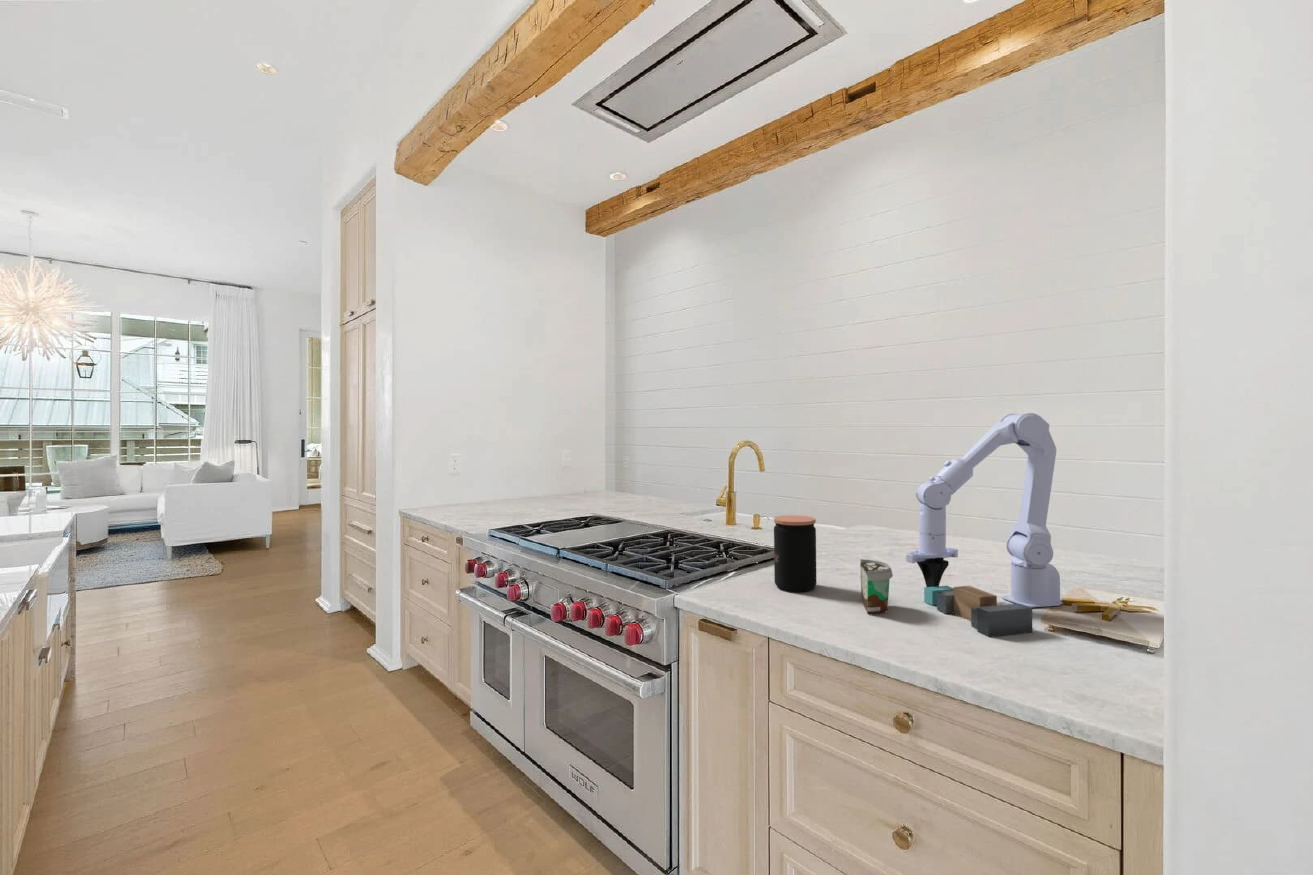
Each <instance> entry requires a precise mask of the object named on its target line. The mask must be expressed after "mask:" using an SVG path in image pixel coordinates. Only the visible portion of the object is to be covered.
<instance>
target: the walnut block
mask: <svg viewBox="0 0 1313 875" xmlns="http://www.w3.org/2000/svg"><path fill="white" fill-rule="evenodd" d="M953 588H954V613H953V614H954V615H955V614H957V615H956V616H958V615H959V616H958V617H960V618H962V619H965V620H966V619H967V621H968V620H969V622H971V607H980V606H992V605H998V601H997V600H998V599H997V598H998V597H997V596H998V595H996V594H992V593H990V592H988V591H984V590H982V589H979V588H977V587H974V586H971V585H963V586H962V585H961V586H953Z"/></svg>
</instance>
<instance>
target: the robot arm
mask: <svg viewBox="0 0 1313 875" xmlns="http://www.w3.org/2000/svg"><path fill="white" fill-rule="evenodd" d="M1010 444H1011V445H1012V444H1015V445H1018V446H1019V447H1020V449H1022V451H1023V452H1024V453H1026V454H1027V459H1026V460H1027V461H1026V468H1025V472H1024V474H1025V475H1024V481H1023V482H1024V483H1023V487H1022V495H1021V501H1020V502H1021V503H1020V510H1019V517H1018V521H1017V522H1016V523H1015V524H1014V525H1013V526H1012V530H1011V533H1010V536H1009V537H1007V539H1006V542H1005V543H1006V544H1005V546H1006V550H1007V552H1008V553H1009V555H1010V556H1011V559H1010V589H1011V590H1010V595H1003V596H1001V598H1002V599H1003V600H1006V601H1009V602H1010V603H1011V602H1012V603H1013V604H1023V605H1026V606H1028V607H1031V608H1032V609H1033V608H1042V607H1043V608H1045V607H1053V606H1054V607H1056V606H1061V605H1060V604H1062V603H1063V602H1062V601H1061V577H1060V573H1059V571H1058V569H1057V567H1055V566H1054V565H1053V564H1051V561H1052V560H1053V558H1054V550H1053V549H1054V548H1053V547H1052V542H1051V540H1052V536H1051V532H1050V531H1049V529H1048V527H1047V519H1048V513H1049V504H1050V499H1051V491H1052V484H1053V477H1054V470H1055V462H1056V458H1057V457H1056V456H1057V446H1056V444H1055V440H1054V439H1053V437H1052V435H1051V433H1050V423H1048V422H1047V421H1046V420H1045V419H1044V418H1043V417H1042V416H1040V415H1039V414H1037V413H1033V412H1027V413H1008V414H1006V415H1004V416H1002V418H1001V419H1000V421H997V422H996V423H994V424H993V425H992V426H991V427H990V428H989V430H988V431H987V432H986V433H985V434H984V435H983V436H982V437H981V438H980V439H979V440H978V441H977V442H976V443H975V444H974V445H973V446H972V447H971V448H970V449H969V450H968V452H966V453H965V454H964V455H963V456H962V457H961V458H952V459H951V460H950V461H949V460H947V461H945V462H944V463H943V467H942V468H941V469H940V470H939V471H938V472H937V473H936V474H935V475H934V476H933V475H931V476H930V477H929V478H928V479H929V481H927V482H924V483H922V484H921V485H920V486H919V487H918V489H917V492H915V497H916V499H917V501H918V503H919V534H918V535H919V538H918V539H919V542H918V544H919V546H918V547H919V548H918V549H917V550H914V551H912V552H908V553H906V555H905V556H906V557H905V562H906V563H911V564H917V565H918V567H919V568H920V571H921V573H922V575H923V579H924V583H925V587H937V586H940V583H941V580H942V577H943V576H944V573H945V571H946V570H947V568H948V566H949V564H950V562H949V561H948V560H945V559H947V558H949V559H950V558H958V557H959V550H958V549H957V548H955V547H947V514H946V513H947V512H946V510H947V508H946V507H947V505H948V506H949V504H950V502H951V499H952V496H953V495H954V494H955V493H956V492H957V491H958V490H959V489H961V487H962V486H964V484H966V483H967V482H968V481H969V480H970V479H971V478H972V477H973V476H974V469H975V467H977V466H978V465H979V464H980V463H981V462H982V461H984V460H985V459H986V458H988V456H990V455H991V454H992V453H993V452H994V451H996V450H997V449H998V448H999V447H1001V446H1004V445H1010Z"/></svg>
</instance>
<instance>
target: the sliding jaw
mask: <svg viewBox="0 0 1313 875" xmlns="http://www.w3.org/2000/svg"><path fill="white" fill-rule="evenodd" d="M923 590H924V592H923V596H924V597H923V598H924V599H923V600H924V601H923V602H925V603H927V605H928V604H929V605H931V606H936V610H937V611H938V612H941V613H943V614H945V615H949V614H954V587H951V586H949V585H939V586H937V587H926V586H924V588H923Z"/></svg>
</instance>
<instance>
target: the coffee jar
mask: <svg viewBox="0 0 1313 875" xmlns="http://www.w3.org/2000/svg"><path fill="white" fill-rule="evenodd" d="M816 521H817V520H816V518H815V517H813V516H807V515H793V514H792V515H779V516H775V517H774V518H773V522H774V523H775V525H774V526H773V557H774V558H773V562H774V567H773V568H774V572H773V573H774V584H775V586H776V587H777V589H778V590H781V591H785V592H790V593H806V592H811V591H813V590H814V589H815V587H816V586H817V529H816V527H815V524H816Z"/></svg>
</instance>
